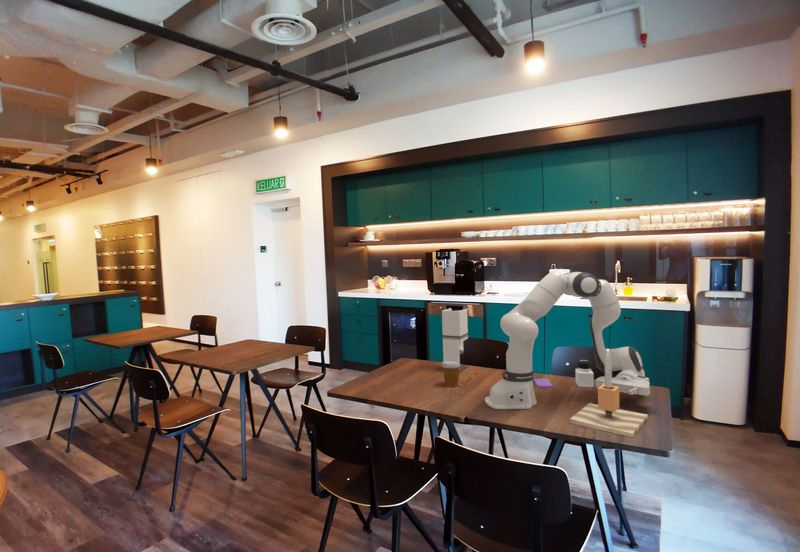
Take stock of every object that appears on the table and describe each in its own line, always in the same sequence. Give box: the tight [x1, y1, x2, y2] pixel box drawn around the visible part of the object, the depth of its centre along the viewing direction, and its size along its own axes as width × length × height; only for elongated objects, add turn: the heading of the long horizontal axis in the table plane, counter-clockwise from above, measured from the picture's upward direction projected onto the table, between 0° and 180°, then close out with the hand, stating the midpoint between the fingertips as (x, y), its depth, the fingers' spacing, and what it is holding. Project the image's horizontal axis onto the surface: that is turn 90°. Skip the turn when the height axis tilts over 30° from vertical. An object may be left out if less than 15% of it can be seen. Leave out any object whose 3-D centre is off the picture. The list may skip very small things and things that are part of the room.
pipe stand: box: [569, 403, 649, 438], centre depth 166 cm, size 22×22×2 cm
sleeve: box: [597, 385, 620, 412], centre depth 165 cm, size 6×6×8 cm
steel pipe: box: [604, 348, 613, 418], centre depth 165 cm, size 3×3×26 cm
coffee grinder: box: [441, 307, 470, 374], centre depth 244 cm, size 11×11×35 cm
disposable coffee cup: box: [441, 360, 462, 388], centre depth 217 cm, size 10×10×12 cm
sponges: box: [533, 377, 554, 389], centre depth 214 cm, size 7×13×2 cm, turn 173°
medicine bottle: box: [574, 359, 595, 388], centre depth 210 cm, size 7×7×12 cm
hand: (617, 390), depth 173 cm, fingers open, 8 cm apart
